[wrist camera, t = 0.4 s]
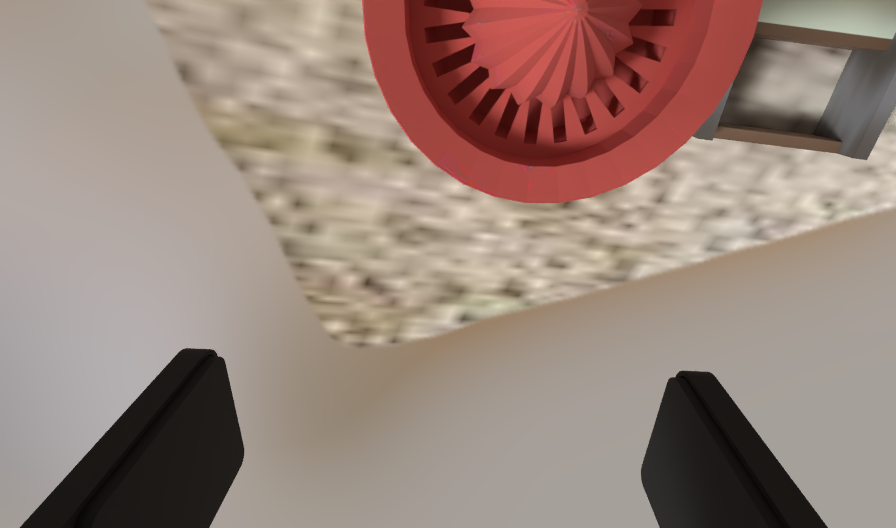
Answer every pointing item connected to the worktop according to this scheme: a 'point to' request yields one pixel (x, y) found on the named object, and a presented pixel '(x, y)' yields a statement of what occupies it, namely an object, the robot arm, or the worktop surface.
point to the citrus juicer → (554, 85)
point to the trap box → (861, 83)
